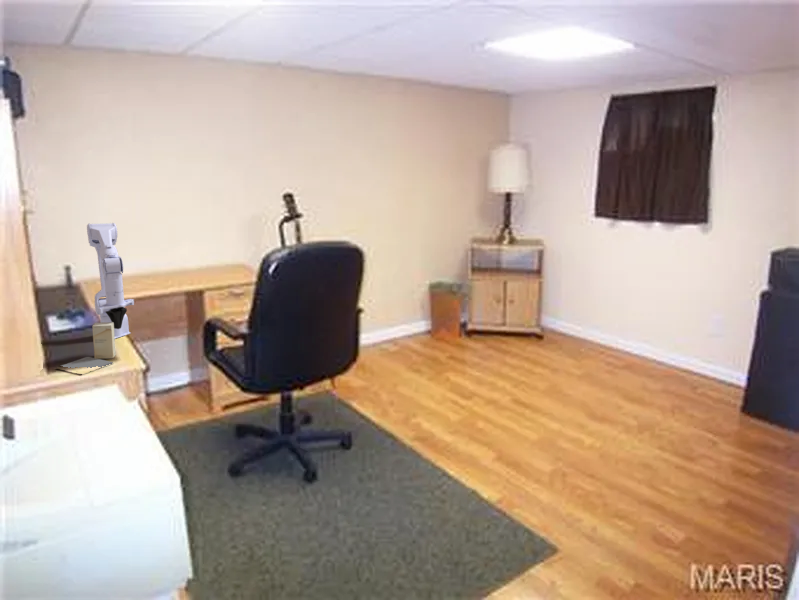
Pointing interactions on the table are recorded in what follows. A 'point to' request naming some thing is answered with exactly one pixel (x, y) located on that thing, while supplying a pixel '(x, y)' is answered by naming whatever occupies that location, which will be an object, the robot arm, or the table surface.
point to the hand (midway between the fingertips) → (117, 328)
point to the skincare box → (104, 340)
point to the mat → (87, 363)
